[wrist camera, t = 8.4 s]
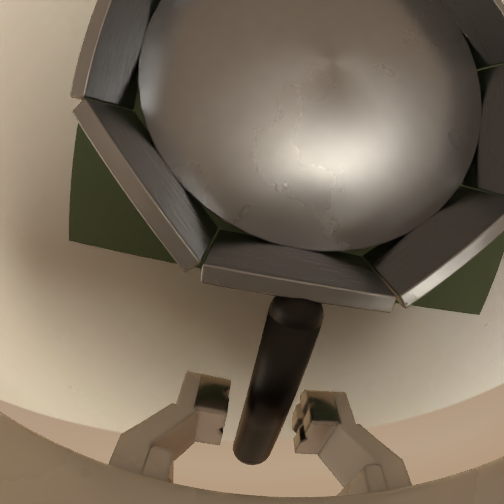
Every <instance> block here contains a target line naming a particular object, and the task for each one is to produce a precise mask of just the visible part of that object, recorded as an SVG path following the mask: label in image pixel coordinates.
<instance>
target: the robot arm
mask: <svg viewBox="0 0 504 504" xmlns="http://www.w3.org/2000/svg"><path fill="white" fill-rule="evenodd" d="M230 385H231V380H228V379H223V378H218V377H214V376H209V375H204V374H199V373H194V372H190V371H187V372H186V374H185V377H184V380H183V384H182V387H181V390H180V394H179V397H178V400H177V404H174V403H172V404H170V405H168V406H167V407H165V408H164V409H162V410H160V411H159V412H157V413H156V414H154V415H152V416H151V417H149V418H148V419H146V420H144V421H143V422H141V423H139V424H138V425H136V426H134V427H133V428H131V429H129V430H128V431H126V432H124V433H123V434H121V436H120V438H119V440H118V442H117V445H116V447H115V450H114V452H113V454H112V457H111V459H110V462H109V464H105V463H103V462H100V461H97V460H95V459H92V458H90V457H87V456H85V455H82V454H80V453H78V452H75V451H73V450H71V449H69V448H66V447H64V446H62V445H60V444H58V443H55V442H54V441H51V440H49V439H47V438H46V437H44V436H42V435H40V434H38V433H36V432H34V431H32V430H30V429H28V428H27V427H25V426H23V425H22V424H20V423H18V422H16V421H15V420H13V419H11V418H10V417H8V416H7V415H5V414H3V413H2V412H0V504H504V457H502V458H499V459H497V460H494V461H492V462H489V463H487V464H484V465H481V466H479V467H476V468H473V469H470V470H467V471H464V472H461V473H458V474H455V475H452V476H448V477H445V478H441V479H438V480H434V481H430V482H426V483H422V484H417V485H413V486H412V484H411V481H410V478H409V476H408V473H407V470H406V467H405V465H404V462H403V460H402V459H401V458H400V457H398V456H397V455H396V454H395V453H393V452H392V451H391V450H390V449H389V448H387V447H386V446H385V445H384V444H382V443H381V442H380V441H379V440H377V439H376V438H375V437H374V436H373V435H372V434H370V433H369V432H368V431H367V430H366V429H365V428H363V427H362V426H361V425H360V424H356V423H355V420H354V417H353V414H352V410H351V407H350V404H349V401H348V398H347V395H346V393H345V392H334V391H331V392H330V391H315V390H304V391H303V392H302V393H301V396H300V402H301V403H299V404H298V405H296V407H295V410H294V413H293V418H292V428H293V430H294V431H295V432H296V435H295V437H294V447H295V453H301V454H318V456H319V457H320V459H321V460H322V461H323V462H324V464H325V465H326V466H327V467H328V469H329V470H330V471H331V472H332V473H333V475H334V476H335V477H336V478H337V480H338V481H339V482H340V483H341V484H342V486H343V487H344V489H343V490H342V491H341V492H340V493H339V494H338V495H337V496H330V497H267V496H252V495H241V494H232V493H224V492H217V491H210V490H204V489H199V488H193V487H188V486H183V485H179V484H174V483H173V461H174V460H176V459H177V458H178V457H179V456H180V455H181V454H182V453H184V452H185V451H186V450H187V449H188V448H189V447H190V446H191V445H192V444H193V443H194V442H195V441H196V442H202V443H208V444H215V445H220V442H221V438H222V433H223V427H224V426H225V421H226V416H227V411H228V403H229V397H228V396H229V391H230Z"/></svg>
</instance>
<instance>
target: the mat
mask: <svg viewBox="0 0 504 504" xmlns="http://www.w3.org/2000/svg"><path fill="white" fill-rule="evenodd" d="M500 65H504V63H501V64H497V65H493V66H489V67H485V68H481V69H478V70H477V71H480V70H484V69H488V68H492V67H496V66H500ZM82 101H83V100H82ZM130 111H134V112H135V113H136V115H137V116H138V117H139V119H140V120H141V122H142V123H143V125H144V126H145V127H146V124H145V121H144V117H143V113H142V110H141V106H140V99H139V91H138V90H137V95H136V100H135V105H134V109H133V110H130ZM146 129H147V128H146ZM462 183H463V181H462V182H461V184H460V185H459V187H461V186H463V185H462ZM459 187H458V188H459ZM463 187H466V186H463ZM458 188H457V189H458ZM467 188H468V187H467ZM202 207H203V208H204V210H205V211H206V212H207V214H208V215H209V216H210V218H211V219H212V220H213V222H214V223H215V225H216V226H217V227H218V229H217V231H216V233H215V235H214V237H213V239H212V241H211V242H210V244H209V246H208V248H207V250H206V252H205V254H204V256H203V258H202V260H201V262H200V263H199V264H198V265H196V266H195V267H196V268H201V269H202V264H203V262H204V260H205V258H206V256H207V254H208V252H209V250H210V248H211V246H212V244H213V242H214V240H215V238H216V236H217V234H218V232H219V230H226V231H231V232H237V233H242V234H247V233H245V232H243V231H241V230H240V229H238V228H236V227H234V226H232V225H230V224H228V223H227V222H225V221H223V220H222V219H220V218H219V217H218V216H216V215H215V214H213V213H212V212H211V211H209V210H208V209H206V208H205V207H204V206H203V205H202ZM248 235H250V234H248ZM69 240H70V241H75V242H79V243H83V244H88V245H92V246H97V247H101V248H106V249H110V250H115V251H119V252H124V253H129V254H133V255H138V256H143V257H148V258H152V259H157V260H162V261H167V262H172V263H176V264H177V262H176V261H175V260H174V258H173V257H172V256H171V254H170V253H169V252H168V251H167V249H166V248H165V247H164V245H163V244H162V243H161V241H160V240H159V239H158V237H157V236H156V235H155V233H154V232H153V231H152V229H151V228H150V227H149V225H148V224H147V222H146V221H145V220H144V218H143V217H142V216H141V214H140V213H139V211H138V210H137V209H136V207H135V206H134V205H133V203H132V202H131V200H130V199H129V198H128V196H127V195H126V193H125V192H124V190H123V189H122V188H121V186H120V185H119V183H118V182H117V180H116V179H115V177H114V176H113V174H112V173H111V172H110V170H109V169H108V167H107V166H106V164H105V163H104V161H103V160H102V158H101V157H100V155H99V154H98V152H97V151H96V149H95V148H94V146H93V144H92V143H91V141H90V140H89V138H88V137H87V135H86V134H85V132H84V130H83V129H82V127H81V126H80V124H79V123H78V128H77V134H76V141H75V149H74V158H73V167H72V178H71V192H70V212H69ZM376 246H378V245H376ZM376 246H373V247H369V248H365V249H358V250H351V251H344V252H343V253H348V254H353V255H358V256H361V257H362V258H363V255H364V254H366V253H367V252H369V251H370V250H372V249H373V248H375V247H376ZM503 252H504V231H503V232H502V233H501V234H500V235H499V236H498V237H496V238H495V239H494V240H493V241H492V242H491V243H490V244H489V245H487V246H486V247H485V248H484V249H483V250H482V251H480V252H479V253H478V254H477V255H476V256H475V257H473V258H472V259H471V260H470V261H469V262H467V263H466V264H465V265H464V266H462V267H461V268H460V269H459V270H457V271H456V272H455V273H454V274H452V275H451V276H450V277H448V278H447V279H446V280H444V281H443V282H442V283H440V284H439V285H438V286H436V287H435V288H434V289H432V290H431V291H430V292H428V293H427V294H426V295H424V296H423V297H421V298H420V299H418V300H417V301H416V302H414V303H413V304H411V305H414V306H420V307H427V308H434V309H441V310H448V311H455V312H463V313H470V314H478V315H479V314H480V312H481V310H482V308H483V305H484V303H485V301H486V298H487V296H488V293H489V291H490V288H491V286H492V283H493V281H494V278H495V275H496V273H497V270H498V267H499V264H500V261H501V258H502V255H503ZM363 259H364V258H363ZM364 261H365V260H364ZM395 303H399V301H398V300H397V299H396V301H395Z"/></svg>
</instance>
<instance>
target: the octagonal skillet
mask: <svg viewBox="0 0 504 504" xmlns="http://www.w3.org/2000/svg"><path fill="white" fill-rule="evenodd" d="M501 63H504V4H503V3H502V1H501V0H98V1H97V3H96V6H95V9H94V11H93V14H92V17H91V20H90V23H89V26H88V29H87V32H86V35H85V38H84V41H83V45H82V48H81V52H80V55H79V59H78V63H77V67H76V71H75V75H74V79H73V84H72V88H71V93H70V97H72V98H76V99H81V100H83V101H82V102H81V103H80V104H79V105H78V106H77V107H76V108H75V109H74V110H73V114H74V116H75V118H76V119H77V121H78V123H79V124H80V126H81V127H82V129H83V130H84V132H85V134H86V135H87V137H88V138H89V140H90V141H91V143H92V144H93V146H94V148H95V149H96V151H97V152H98V154H99V155H100V157H101V158H102V160H103V161H104V163H105V164H106V166H107V167H108V169H109V170H110V172H111V173H112V174H113V176H114V177H115V179H116V180H117V182H118V183H119V185H120V186H121V188H122V189H123V190H124V192H125V193H126V195H127V196H128V198H129V199H130V200H131V202H132V203H133V205H134V206H135V207H136V209H137V210H138V211H139V213H140V214H141V216H142V217H143V218H144V220H145V221H146V222H147V224H148V225H149V227H150V228H151V229H152V231H153V232H154V233H155V235H156V236H157V237H158V239H159V240H160V241H161V243H162V244H163V245H164V247H165V248H166V249H167V251H168V252H169V253H170V254H171V256H172V257H173V258H174V260H175V261H176V262H177V264H178V265H179V266H180V267H181V269H182V270H183V271H184V272H187V271H189V270H190V269H192V268H193V267H195V266H196V265H198V264H199V263H200V262H201V260H202V258H203V256H204V254H205V252H206V250H207V248H208V246H209V244H210V242H211V241H212V239H213V237H214V235H215V233H216V231H217V229H218V227H217V226H216V225H215V223H214V222H213V220H212V219H211V218H210V216H209V215H208V214H207V212H206V211H205V210H204V208H203V207H202V205H203V206H204V207H205V208H206V209H208V210H209V211H211V212H212V213H213V214H215V215H216V216H218V217H219V218H220V219H222V220H223V221H225V222H227V223H228V224H230V225H232V226H234V227H236V228H238V229H240V230H241V231H243V232H245V233H247V234H242V233H237V232H231V231H226V230H219V232H218V234H217V236H216V238H215V240H214V242H213V244H212V246H211V248H210V250H209V252H208V254H207V256H206V258H205V260H204V262H203V264H202V270H201V278H200V281H201V282H202V283H206V284H212V285H217V286H222V287H228V288H233V289H239V290H244V291H250V292H256V293H262V294H267V295H273V296H275V297H274V299H273V301H272V302H271V304H270V307H269V310H268V314H267V318H266V322H265V326H264V330H263V334H262V338H261V342H260V346H259V350H258V354H257V358H256V362H255V366H254V370H253V374H252V378H251V381H250V385H249V389H248V393H247V397H246V400H245V404H244V408H243V411H242V415H241V419H240V422H239V426H238V430H237V433H236V437H235V440H234V444H233V451H234V454H235V456H236V457H237V459H238V460H240V461H241V462H243V463H245V464H248V465H256V464H260V463H262V462H263V461H265V460H266V459H267V458H268V456H269V455H270V453H271V450H272V448H273V446H274V444H275V442H276V440H277V437H278V435H279V433H280V431H281V428H282V426H283V424H284V421H285V419H286V417H287V414H288V412H289V410H290V407H291V405H292V402H293V400H294V397H295V395H296V392H297V390H298V387H299V385H300V382H301V380H302V377H303V375H304V372H305V369H306V367H307V364H308V361H309V359H310V356H311V353H312V350H313V348H314V345H315V342H316V339H317V336H318V333H319V331H320V328H321V325H322V321H323V308H322V304H321V303H324V304H330V305H337V306H344V307H351V308H358V309H365V310H373V311H380V312H388V313H390V312H391V311H392V309H393V306H394V304H395V301H396V299H397V300H398V301H399V303H400V304H401V305H402V306H403V307H404V308H407V307H408V306H410V305H411V304H413V303H414V302H416V301H417V300H418V299H420V298H421V297H423V296H424V295H426V294H427V293H428V292H430V291H431V290H432V289H434V288H435V287H436V286H438V285H439V284H440V283H442V282H443V281H444V280H446V279H447V278H448V277H450V276H451V275H452V274H454V273H455V272H456V271H457V270H459V269H460V268H461V267H462V266H464V265H465V264H466V263H467V262H469V261H470V260H471V259H472V258H473V257H475V256H476V255H477V254H478V253H479V252H480V251H482V250H483V249H484V248H485V247H486V246H487V245H489V244H490V243H491V242H492V241H493V240H494V239H495V238H496V237H498V236H499V235H500V234H501V233H502V232H503V231H504V65H500V66H496V67H492V68H488V69H484V70H480V71H477V70H478V69H481V68H485V67H489V66H493V65H497V64H501ZM137 90H138V91H139V99H140V106H141V110H142V113H143V117H144V121H145V124H146V127H145V126H144V125H143V123H142V122H141V120H140V119H139V117H138V116H137V115H136V113H135V112H134V111H130V110H133V109H134V105H135V100H136V95H137ZM146 128H147V129H146ZM462 181H463V183H462V185H463V186H466V187H463V186H461V187H459V185H460V184H461V182H462ZM458 187H459V188H458ZM467 187H468V188H467ZM457 188H458V189H457ZM248 234H250V235H248ZM376 245H378V246H376ZM373 246H376V247H375V248H373V249H372V250H370V251H369V252H367V253H366V254H364V255H363V258H364V259H363V258H362V257H361V256H358V255H353V254H348V253H343V252H344V251H351V250H358V249H365V248H369V247H373ZM364 260H365V261H364Z"/></svg>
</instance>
